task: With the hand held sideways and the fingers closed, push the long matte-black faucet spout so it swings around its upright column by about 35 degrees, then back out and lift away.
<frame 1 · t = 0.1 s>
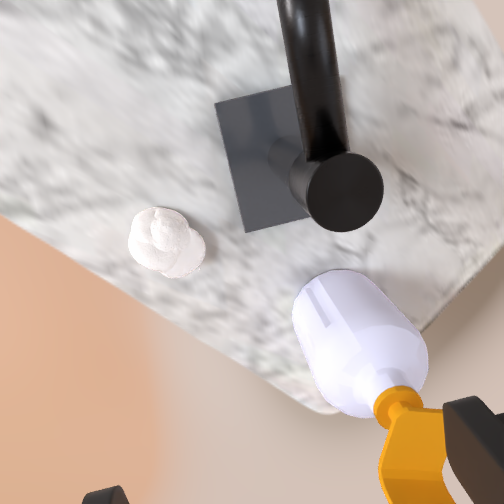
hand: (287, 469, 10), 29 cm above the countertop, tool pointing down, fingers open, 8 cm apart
faucet base: (285, 155, 37), on the countertop
dumpling: (170, 235, 38), on the countertop
spout: (308, 51, 22), point 14 cm above the countertop, hinge at 0.0°
soap bottle: (335, 309, 43), on the countertop
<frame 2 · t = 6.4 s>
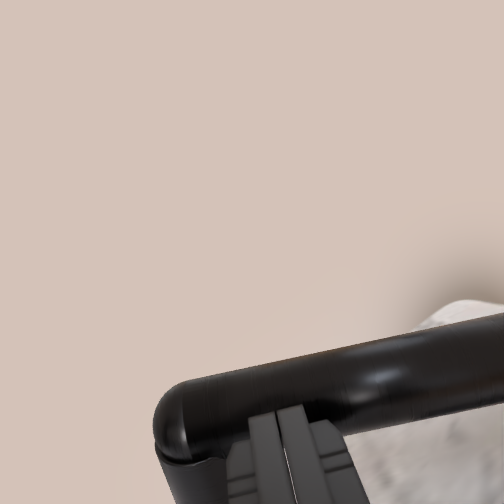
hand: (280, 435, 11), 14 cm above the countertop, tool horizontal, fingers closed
spout: (448, 380, 13), point 14 cm above the countertop, hinge at -3.7°, touching gripper
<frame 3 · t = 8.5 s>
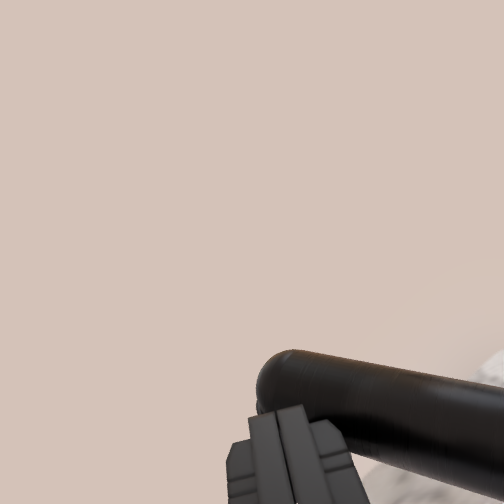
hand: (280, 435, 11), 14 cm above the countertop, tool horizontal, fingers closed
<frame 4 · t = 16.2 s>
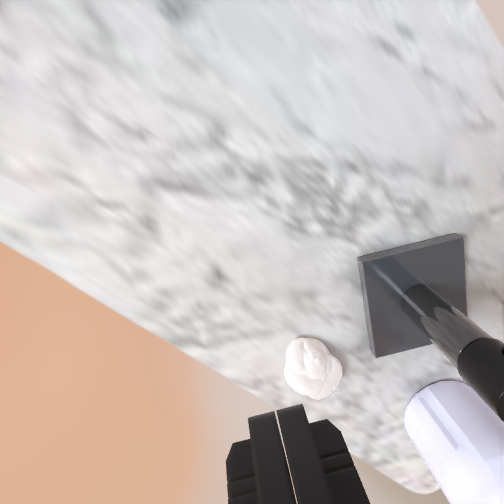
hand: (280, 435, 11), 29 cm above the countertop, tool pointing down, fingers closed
faucet base: (411, 294, 44), on the countertop
dumpling: (309, 357, 45), on the countertop
soap bottle: (438, 410, 50), on the countertop
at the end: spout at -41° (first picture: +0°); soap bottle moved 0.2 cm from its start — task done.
